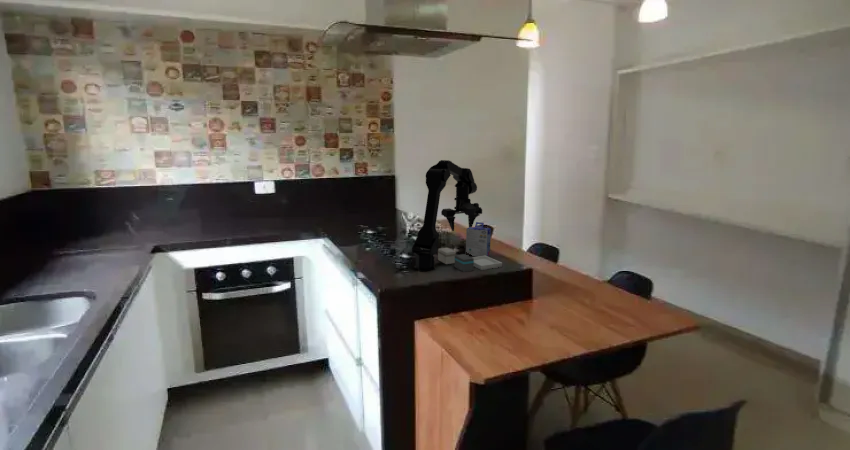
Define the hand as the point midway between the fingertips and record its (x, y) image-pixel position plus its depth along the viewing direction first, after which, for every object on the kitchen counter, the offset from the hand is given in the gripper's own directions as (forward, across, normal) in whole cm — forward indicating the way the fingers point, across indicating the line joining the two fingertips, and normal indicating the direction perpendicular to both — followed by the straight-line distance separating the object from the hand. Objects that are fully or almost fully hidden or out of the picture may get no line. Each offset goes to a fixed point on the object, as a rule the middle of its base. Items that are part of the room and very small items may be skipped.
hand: (461, 229), depth 212 cm
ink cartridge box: (+9, +1, -12) cm, 16 cm away
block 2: (+9, -15, -26) cm, 32 cm away
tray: (+9, -5, -26) cm, 28 cm away
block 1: (+9, -16, -14) cm, 23 cm away
